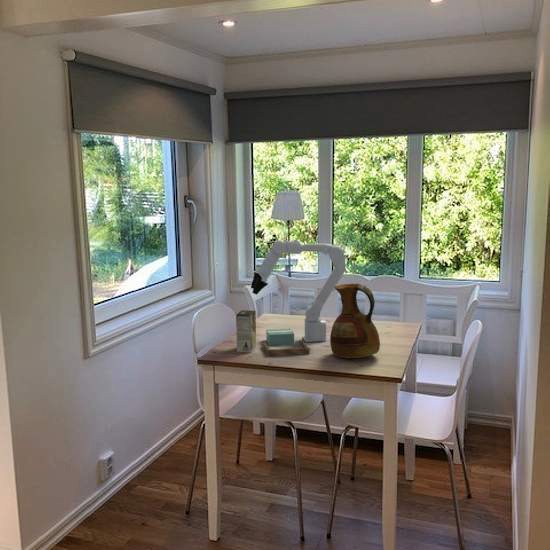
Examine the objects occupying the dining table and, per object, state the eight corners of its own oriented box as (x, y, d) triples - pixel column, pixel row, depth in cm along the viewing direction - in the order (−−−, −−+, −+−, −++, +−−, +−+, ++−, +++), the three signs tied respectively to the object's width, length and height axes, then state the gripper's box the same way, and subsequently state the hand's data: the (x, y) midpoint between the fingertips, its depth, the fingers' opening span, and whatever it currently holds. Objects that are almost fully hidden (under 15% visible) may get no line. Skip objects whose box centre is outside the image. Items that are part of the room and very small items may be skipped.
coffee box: (242, 346, 257) (241, 309, 255) (256, 346, 256) (256, 310, 253) (236, 352, 248) (235, 314, 246) (251, 352, 247) (250, 315, 244)
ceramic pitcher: (337, 347, 254) (337, 278, 249) (384, 352, 247) (385, 281, 242) (323, 360, 236) (324, 286, 231) (374, 365, 229) (375, 289, 224)
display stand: (302, 344, 258) (302, 339, 258) (309, 354, 245) (309, 348, 244) (262, 346, 256) (262, 341, 255) (267, 356, 242) (267, 350, 241)
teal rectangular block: (290, 339, 269) (290, 328, 268) (294, 344, 260) (294, 333, 259) (266, 340, 267) (266, 329, 266) (269, 345, 258) (268, 334, 257)
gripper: (258, 256, 269) (244, 282, 271) (262, 265, 255) (247, 291, 257) (272, 263, 271) (257, 289, 273) (276, 272, 257) (261, 299, 259)
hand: (253, 290), depth 265 cm, fingers open, 7 cm apart
